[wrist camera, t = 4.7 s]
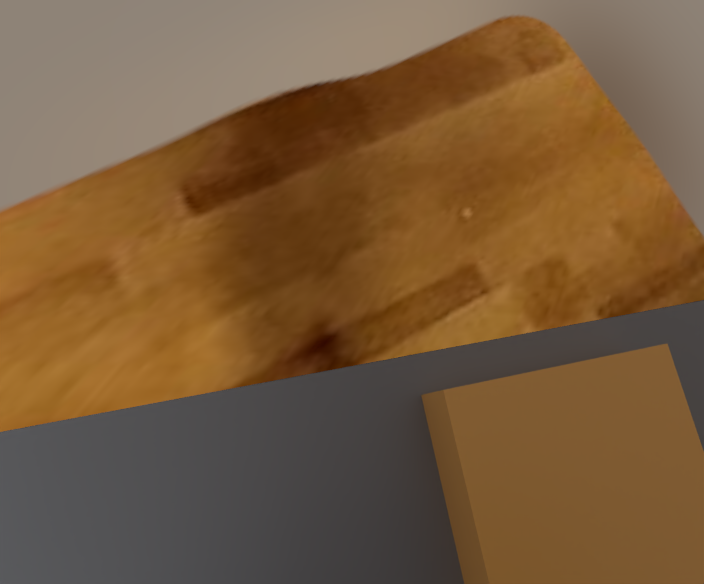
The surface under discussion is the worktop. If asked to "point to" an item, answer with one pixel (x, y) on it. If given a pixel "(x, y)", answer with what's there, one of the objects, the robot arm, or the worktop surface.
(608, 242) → the worktop surface
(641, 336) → the plug block
